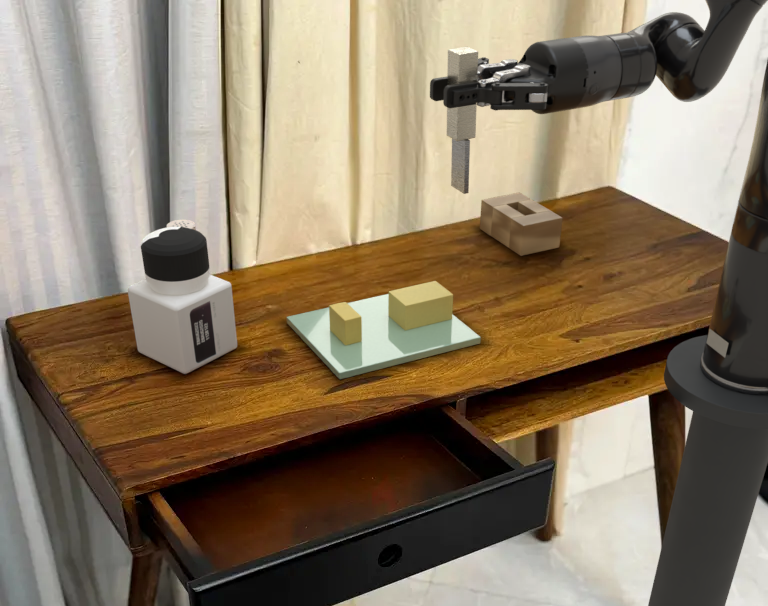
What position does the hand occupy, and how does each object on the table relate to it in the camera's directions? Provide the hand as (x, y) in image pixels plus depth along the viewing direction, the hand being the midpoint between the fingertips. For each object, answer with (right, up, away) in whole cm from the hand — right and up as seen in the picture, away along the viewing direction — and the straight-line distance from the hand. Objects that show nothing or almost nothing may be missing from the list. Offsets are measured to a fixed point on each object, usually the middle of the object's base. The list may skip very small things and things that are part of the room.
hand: (439, 93), depth 106 cm
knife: (+3, -8, +8) cm, 11 cm away
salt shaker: (-28, -21, +9) cm, 36 cm away
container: (-27, -28, 0) cm, 39 cm away
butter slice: (-10, -26, +1) cm, 28 cm away
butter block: (-2, -23, +5) cm, 24 cm away
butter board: (-6, -25, +3) cm, 26 cm away
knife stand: (+12, -9, +24) cm, 28 cm away
